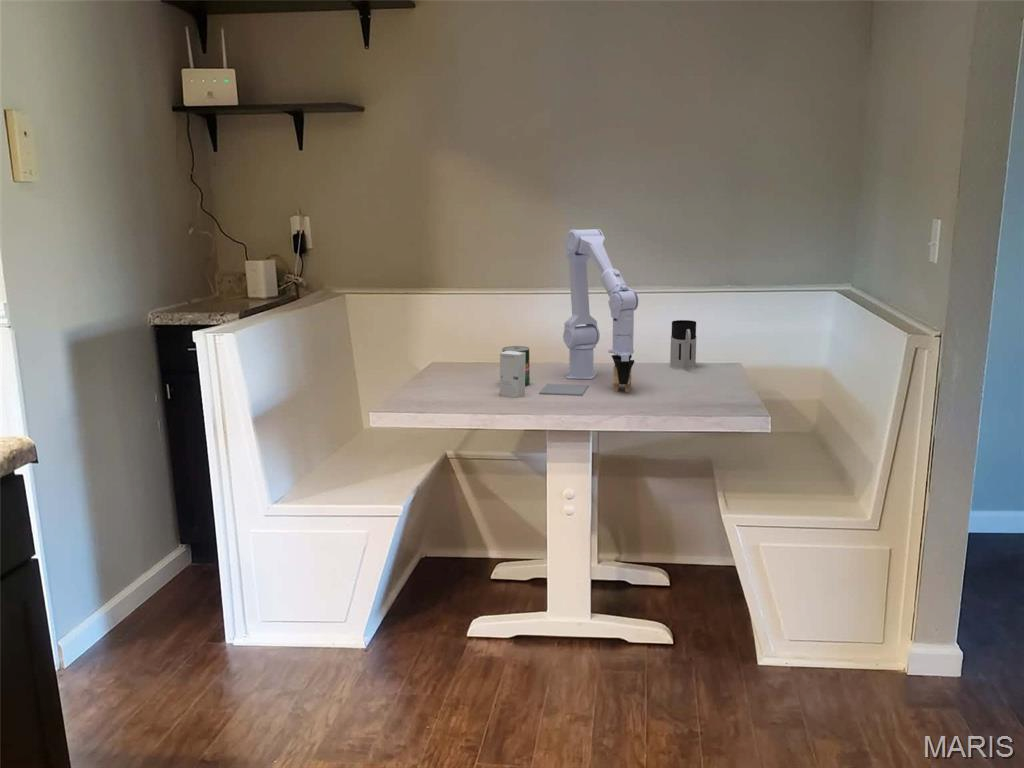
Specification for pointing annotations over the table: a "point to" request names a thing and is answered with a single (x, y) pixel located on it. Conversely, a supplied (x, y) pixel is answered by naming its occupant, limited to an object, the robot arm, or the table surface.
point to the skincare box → (512, 373)
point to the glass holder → (683, 345)
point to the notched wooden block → (616, 382)
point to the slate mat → (564, 389)
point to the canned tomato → (526, 350)
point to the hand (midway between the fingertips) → (622, 382)
